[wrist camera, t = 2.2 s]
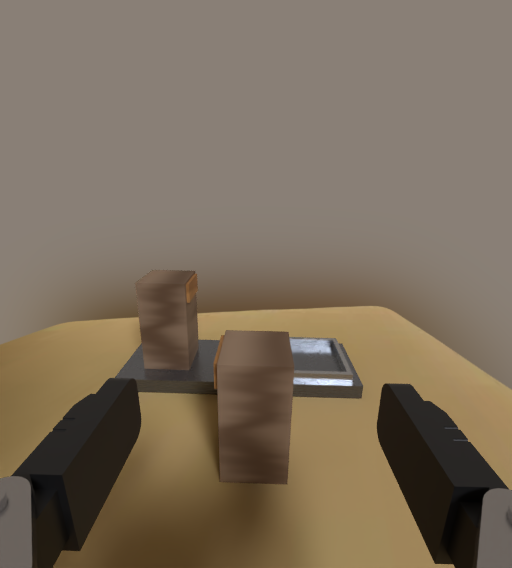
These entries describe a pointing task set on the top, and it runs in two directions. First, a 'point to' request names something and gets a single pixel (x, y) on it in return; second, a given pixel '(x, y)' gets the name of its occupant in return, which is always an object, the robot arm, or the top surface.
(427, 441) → the robot arm
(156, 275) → the block
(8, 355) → the top surface
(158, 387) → the rail
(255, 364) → the walnut finger
